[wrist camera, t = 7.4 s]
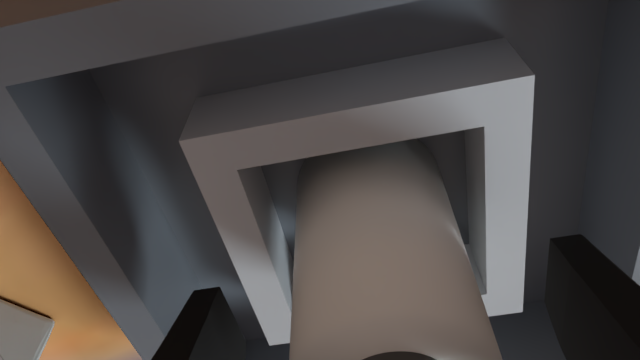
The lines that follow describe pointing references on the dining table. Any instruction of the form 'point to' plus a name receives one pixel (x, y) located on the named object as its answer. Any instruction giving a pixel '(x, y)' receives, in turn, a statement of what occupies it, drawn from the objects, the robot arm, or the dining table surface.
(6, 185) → the dining table surface
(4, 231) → the dining table surface
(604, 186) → the walled box
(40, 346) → the small box
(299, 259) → the bottle
